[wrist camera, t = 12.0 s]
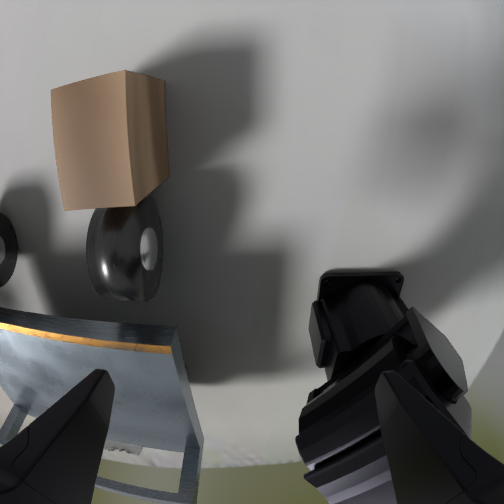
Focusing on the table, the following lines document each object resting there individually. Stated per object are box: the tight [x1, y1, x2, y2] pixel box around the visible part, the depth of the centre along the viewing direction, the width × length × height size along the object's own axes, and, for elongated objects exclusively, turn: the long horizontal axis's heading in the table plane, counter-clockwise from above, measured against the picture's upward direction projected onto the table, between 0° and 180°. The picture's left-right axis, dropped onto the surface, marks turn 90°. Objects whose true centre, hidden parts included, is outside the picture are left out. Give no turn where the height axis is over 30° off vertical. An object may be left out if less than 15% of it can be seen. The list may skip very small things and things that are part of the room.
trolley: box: [0, 196, 204, 504], centre depth 17 cm, size 20×20×12 cm
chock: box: [51, 70, 170, 211], centre depth 14 cm, size 4×6×6 cm, turn 1°
